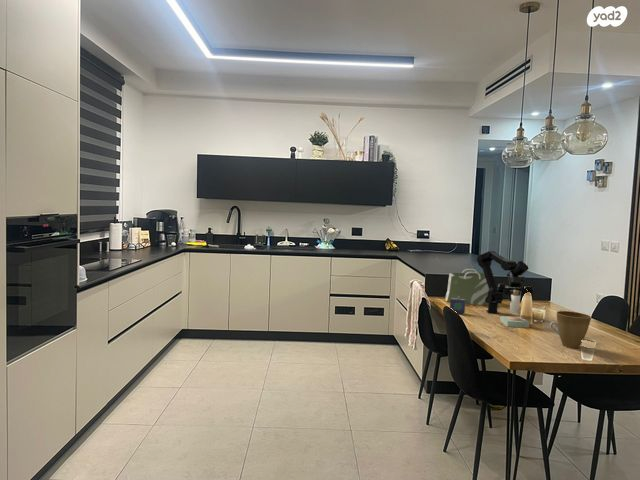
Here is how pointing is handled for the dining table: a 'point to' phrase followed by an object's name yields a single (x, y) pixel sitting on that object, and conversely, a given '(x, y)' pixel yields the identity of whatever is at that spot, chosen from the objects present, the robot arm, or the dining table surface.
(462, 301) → the flask
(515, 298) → the cosmetic bottle
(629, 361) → the dining table surface
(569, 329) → the plant pot
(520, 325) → the stacking base
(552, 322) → the teacup
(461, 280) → the grocery bag
